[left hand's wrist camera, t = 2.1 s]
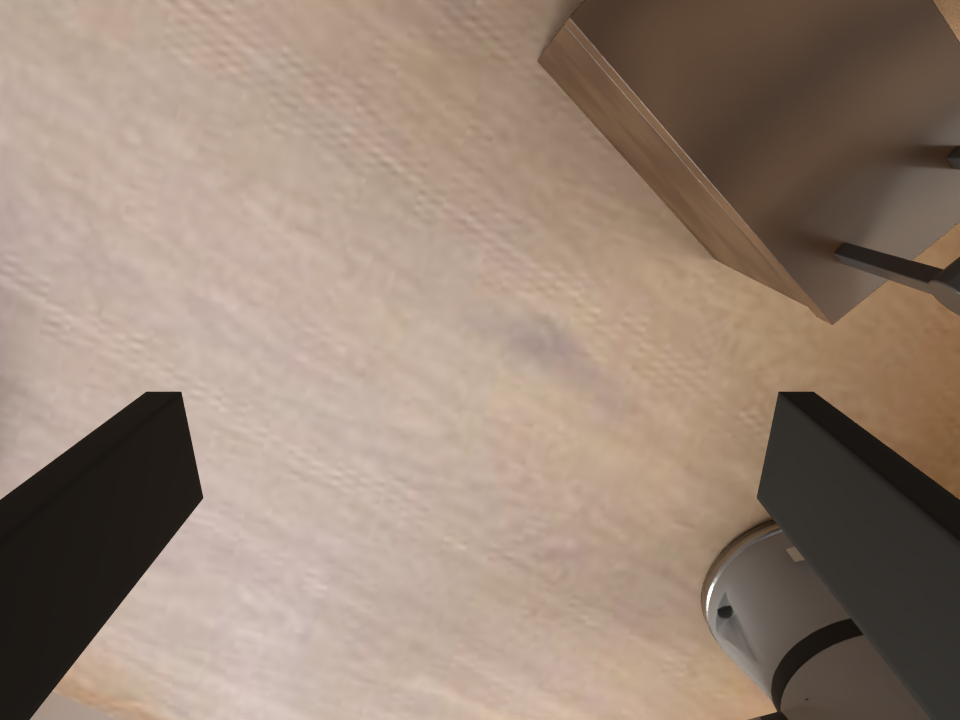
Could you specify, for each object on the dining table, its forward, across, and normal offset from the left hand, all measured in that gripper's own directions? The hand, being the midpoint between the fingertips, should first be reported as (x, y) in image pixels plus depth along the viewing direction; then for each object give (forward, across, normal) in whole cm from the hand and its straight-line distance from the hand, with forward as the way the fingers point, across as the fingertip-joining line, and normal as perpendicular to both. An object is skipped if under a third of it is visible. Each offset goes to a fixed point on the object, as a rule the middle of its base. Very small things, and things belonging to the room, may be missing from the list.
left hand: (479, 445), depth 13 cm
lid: (+15, -13, -8) cm, 22 cm away
